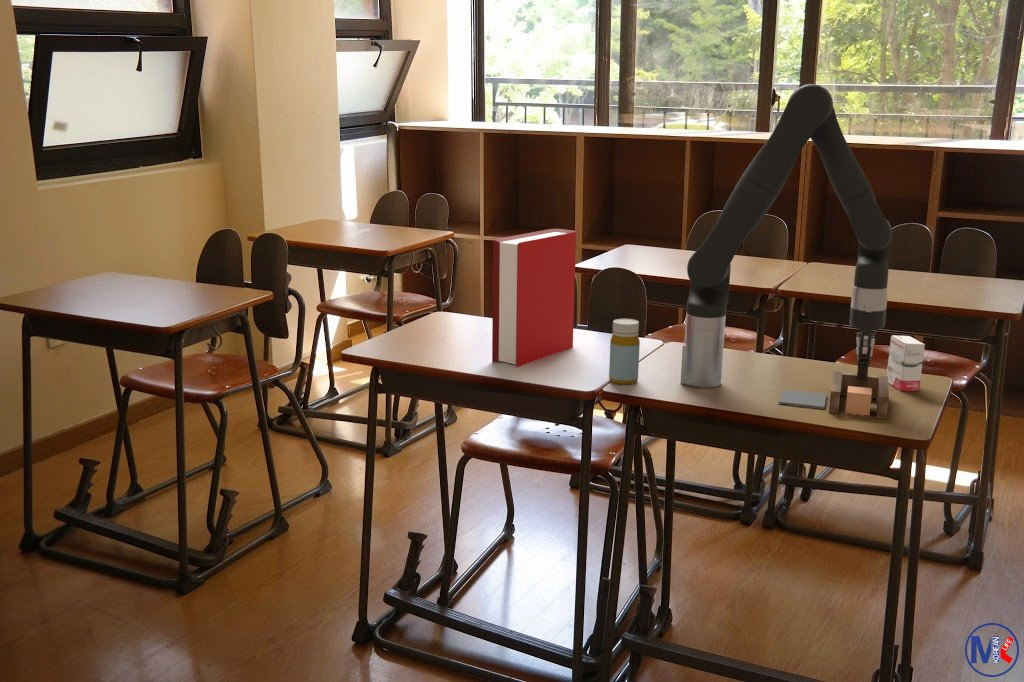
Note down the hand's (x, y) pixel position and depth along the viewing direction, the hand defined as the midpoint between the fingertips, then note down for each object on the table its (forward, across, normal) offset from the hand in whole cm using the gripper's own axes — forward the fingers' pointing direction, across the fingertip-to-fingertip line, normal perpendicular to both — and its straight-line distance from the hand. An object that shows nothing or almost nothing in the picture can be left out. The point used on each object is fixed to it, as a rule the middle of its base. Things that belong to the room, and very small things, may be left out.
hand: (861, 380), depth 221 cm
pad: (+5, +4, -12) cm, 14 cm away
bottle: (+4, +6, -54) cm, 55 cm away
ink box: (+5, -16, +10) cm, 20 cm away
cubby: (+5, +3, 0) cm, 6 cm away
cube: (+5, +8, 0) cm, 10 cm away
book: (+4, -10, -82) cm, 83 cm away
